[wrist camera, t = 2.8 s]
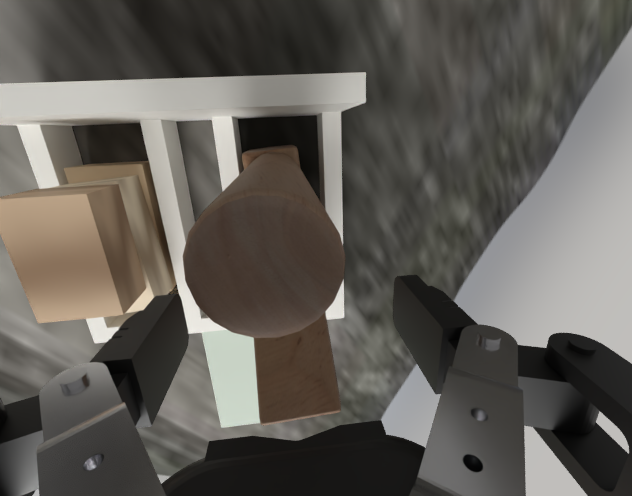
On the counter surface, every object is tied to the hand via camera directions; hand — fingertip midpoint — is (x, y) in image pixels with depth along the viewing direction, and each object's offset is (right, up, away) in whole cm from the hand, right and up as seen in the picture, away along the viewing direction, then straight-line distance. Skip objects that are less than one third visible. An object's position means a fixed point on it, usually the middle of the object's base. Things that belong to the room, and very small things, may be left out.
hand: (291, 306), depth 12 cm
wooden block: (-2, +5, +13) cm, 14 cm away
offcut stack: (-12, +4, +12) cm, 18 cm away
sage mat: (-4, -9, +18) cm, 20 cm away
